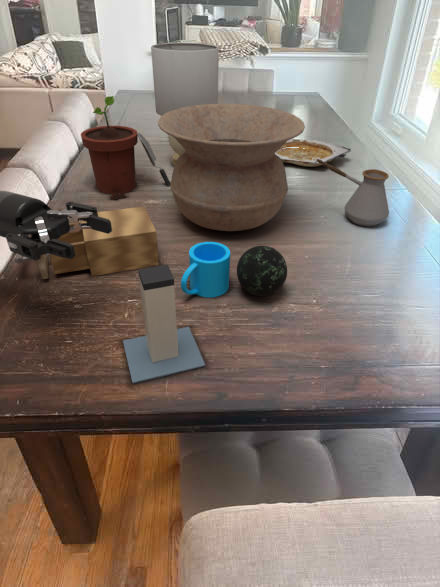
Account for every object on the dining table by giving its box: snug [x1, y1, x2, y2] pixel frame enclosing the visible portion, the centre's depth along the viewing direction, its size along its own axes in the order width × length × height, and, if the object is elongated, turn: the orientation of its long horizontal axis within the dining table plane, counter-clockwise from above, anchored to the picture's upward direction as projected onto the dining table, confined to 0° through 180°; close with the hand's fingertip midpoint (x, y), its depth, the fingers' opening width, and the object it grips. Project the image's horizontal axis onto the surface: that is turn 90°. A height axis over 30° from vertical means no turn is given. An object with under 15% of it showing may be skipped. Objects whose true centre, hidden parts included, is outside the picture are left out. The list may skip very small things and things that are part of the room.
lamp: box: [150, 41, 220, 167], centre depth 133 cm, size 20×20×35 cm
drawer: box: [15, 221, 90, 280], centre depth 89 cm, size 18×11×7 cm, turn 109°
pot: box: [157, 103, 306, 232], centre depth 104 cm, size 34×34×25 cm
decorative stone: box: [236, 245, 288, 297], centre depth 82 cm, size 10×10×10 cm
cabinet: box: [80, 205, 160, 277], centre depth 92 cm, size 15×13×9 cm
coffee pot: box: [314, 159, 390, 227], centre depth 108 cm, size 21×12×15 cm, turn 74°
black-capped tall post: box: [137, 264, 178, 363], centre depth 65 cm, size 4×4×16 cm
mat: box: [122, 326, 206, 385], centre depth 70 cm, size 12×10×1 cm
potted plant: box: [80, 95, 171, 201], centre depth 118 cm, size 18×22×25 cm
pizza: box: [275, 138, 352, 168], centre depth 149 cm, size 32×4×23 cm
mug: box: [180, 241, 231, 298], centre depth 83 cm, size 12×8×8 cm
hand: (92, 239), depth 62 cm, fingers open, 8 cm apart
